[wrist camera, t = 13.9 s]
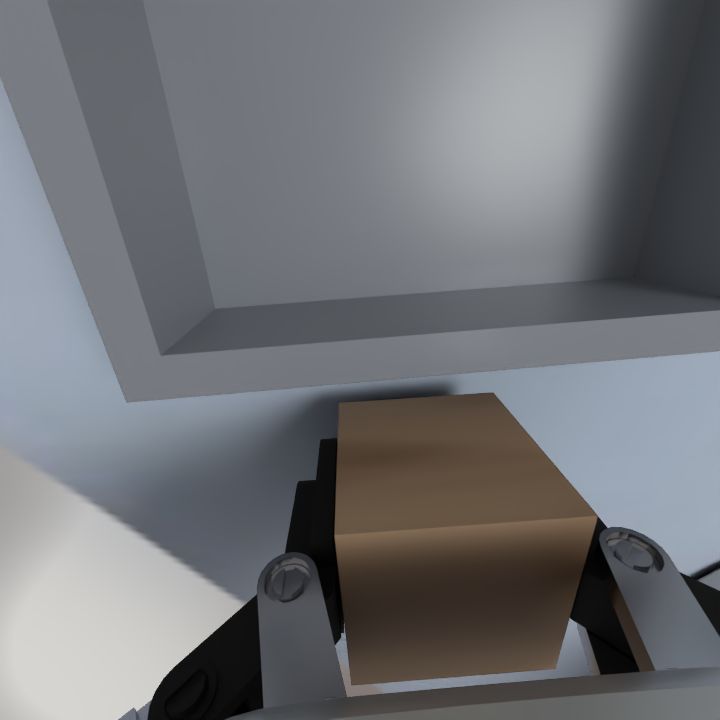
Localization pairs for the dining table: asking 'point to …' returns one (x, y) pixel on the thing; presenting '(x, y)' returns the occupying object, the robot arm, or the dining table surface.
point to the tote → (376, 182)
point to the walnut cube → (452, 540)
